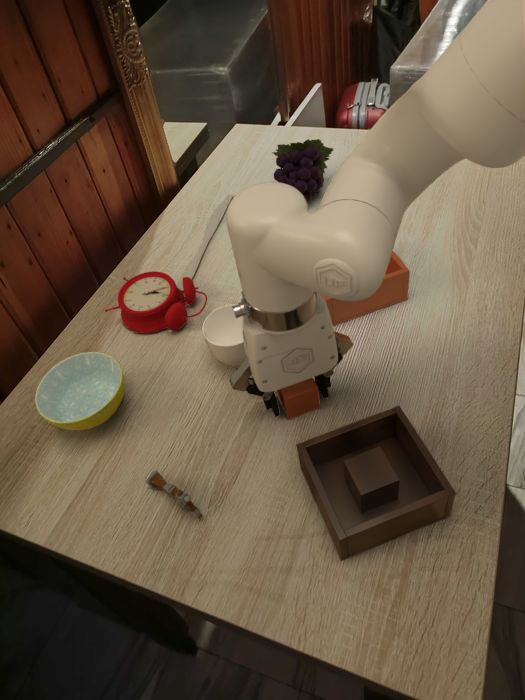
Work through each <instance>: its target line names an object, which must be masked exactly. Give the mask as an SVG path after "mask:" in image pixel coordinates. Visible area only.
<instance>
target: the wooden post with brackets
mask: <svg viewBox="0 0 525 700" xmlns="http://www.w3.org/2000/svg"><path fill="white" fill-rule="evenodd" d="M145 482H146V483H147V485H148V486H149V487H150V489H152V491H156V490H157V489H160V490H163V491H164V492H165V493H166V494H169V496H171V497H172V498H176V499H177V500H178V501H179V503H178V506H179V507H180V508H181V509H182V510H184V511H185V512H186V513H189V512H190V513H191V514H192V515H194V516H195V518H196V519H198V520H201V519H202V517H203V516H204V514H203V513H202V512H201V509H199V508H198V506H196V505H195V504H194V502H193V501H192V500H191V499H192V497H191V495H190V494H188V492H186V491H184V490H182V489H179V487H177V486H176V485H175V484H172V483H171V482H169V481H168V482H167V481H166V480H165V478H164V477H163V476H162V475H161V474H160V472H159V470H157V469H155V470H154V471H153V472H152V473H151V474H150V475H149V476H148V477H147V478H146V479H145Z"/></svg>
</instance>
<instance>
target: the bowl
mask: <svg viewBox="0 0 525 700" xmlns="http://www.w3.org/2000/svg"><path fill="white" fill-rule="evenodd" d="M124 394H125V376H124V372H123V369H122V366H121V365H120V363H119V361H118V360H116V358H114V357H113V356H111V355H109V354H107V353H104V352H100V351H99V352H98V351H86V352H85V351H84V352H80V353H77V354H74V355H71V356H68V357H66V358H64V359H62V360H61V361H58V363H56V364H55V365H53V367H51V368H50V369H49V370H48V371H47V372H46V373H45V374H44V376H43V377H42V378H41V380H40V382H39V384H38V385H37V387H36V391H35V397H34V403H35V408H36V410H37V411H38V414H39V415H40V416H41V417H43V419H44V420H46V421H47V422H49V423H50V424H51V425H53V426H55V427H58V428H60V429H63V430H67V431H84V430H89V429H92V428H95V427H98V426H99V425H102V424H103V423H104V422H106V421H108V420H109V419H110V418H111V417H112V416H113V415H114V414H115V412H116V411H117V410H118V409H119V407H120V404H121V402H122V400H123V397H124Z"/></svg>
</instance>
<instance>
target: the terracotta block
mask: <svg viewBox="0 0 525 700" xmlns="http://www.w3.org/2000/svg"><path fill="white" fill-rule="evenodd" d="M276 396H277V397H278V399H279V401H280V404H281V406H282V409H283V411H284V413H285V415H286V417H287V419H288V420H291V419H294V418H297V417H300V416H302V415H305V414H308V413H310V412H313V411H316V410H318V409H321V402H320V400H321V399H320V391H319V389H318V386H317V385H316V383H315V379H314V377H312V378H310V379H307V380H304V381H301V382H299V383H296V384H293V385H290V386H288V387H285V388H282V389H279V390H276Z"/></svg>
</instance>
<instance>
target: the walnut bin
mask: <svg viewBox="0 0 525 700" xmlns="http://www.w3.org/2000/svg"><path fill="white" fill-rule="evenodd" d="M379 446H380V447H381V448H382V450H383V452H384V453H385V455H386V457H387V459H388V460H389V462H390V464H391V466H392V467H393V469H394V471H395V472H396V474H397V476H398V478H399V479H400V482H399V493H398V499H395V500H393V501H390V502H388V503H385V504H383V505H380V506H378V507H375V508H373V509H370V510H368V511H365V512H363V513H361V511H360V509H359V507H358V505H357V503H356V501H355V499H354V497H353V495H352V493H351V491H350V489H349V487H348V485H347V483H346V481H345V477H344V463H343V460H346V459H348V458H351V457H353V456H356V455H359V454H361V453H364V452H366V451H369V450H371V449H374V448H377V447H379ZM295 447H296V451H297V456H298V461H299V466H300V470H301V473H302V475H303V477H304V480H305V481H306V484H307V486H308V488H309V491H310V493H311V495H312V498H313V500H314V502H315V504H316V507H317V509H318V511H319V513H320V516H321V518H322V520H323V522H324V525H325V528H326V529H327V532H328V534H329V536H330V538H331V541H332V544H333V546H334V547H335V550H336V552H337V554H338V557H339V559H340V561H345V560H347V559H350V558H352V557H353V556H357V555H359V554H361V553H363V552H366V551H369V550H371V549H373V548H376V547H379V546H381V545H383V544H385V543H389V542H390V541H393V540H396V539H398V538H400V537H402V536H403V537H404V536H406V535H407V534H411V533H412V532H416V531H417V530H420V529H423V528H425V527H428V526H430V525H432V524H434V523H438V522H439V521H442V520H445V519H447V518H450V517H451V513H452V509H453V506H454V502H455V499H456V494H457V492H456V491H455V489H454V488H453V486H452V484H451V483H450V481H449V479H448V478H447V477H446V474H445V473H444V472H443V470H442V469H441V467H440V466H439V464H438V463H437V461H436V460H435V457H434V456H433V454H431V452H430V450H429V448H428V447H427V446H426V444H425V442H424V441H423V439H422V437H421V436H420V435H419V433H418V432H417V430H416V428H415V426H414V425H413V423H412V422H411V421H410V419H409V418H408V416H407V415H406V413H405V411H404V410H403V409H402V407H401V405H397V406H394V407H391V408H388V409H386V410H383V411H380V412H377V413H375V414H373V415H370V416H367V417H365V418H361V419H360V420H357V421H354V422H352V423H349V424H346V425H344V426H340V427H338V428H336V429H333V430H330V431H327V432H325V433H322V434H320V435H317V436H314V437H312V438H309V439H307V440H304V441H301V442H299V443H296V444H295Z"/></svg>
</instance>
